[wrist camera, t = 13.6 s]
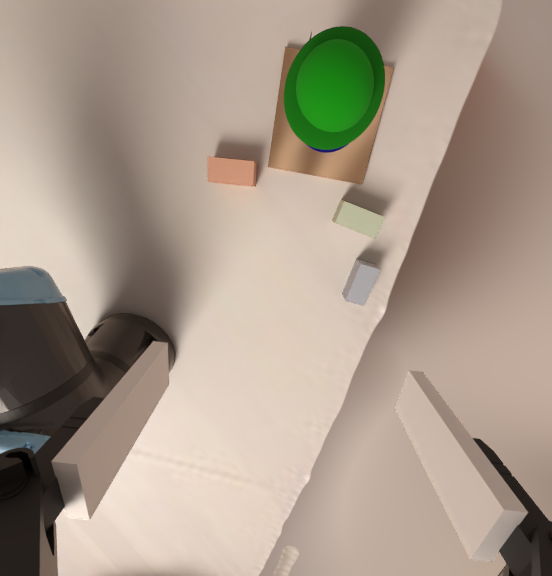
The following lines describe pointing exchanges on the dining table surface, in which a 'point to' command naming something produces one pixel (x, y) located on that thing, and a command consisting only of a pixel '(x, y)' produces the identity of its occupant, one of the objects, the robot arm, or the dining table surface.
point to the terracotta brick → (232, 171)
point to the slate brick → (360, 282)
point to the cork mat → (305, 160)
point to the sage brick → (358, 219)
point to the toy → (334, 88)
